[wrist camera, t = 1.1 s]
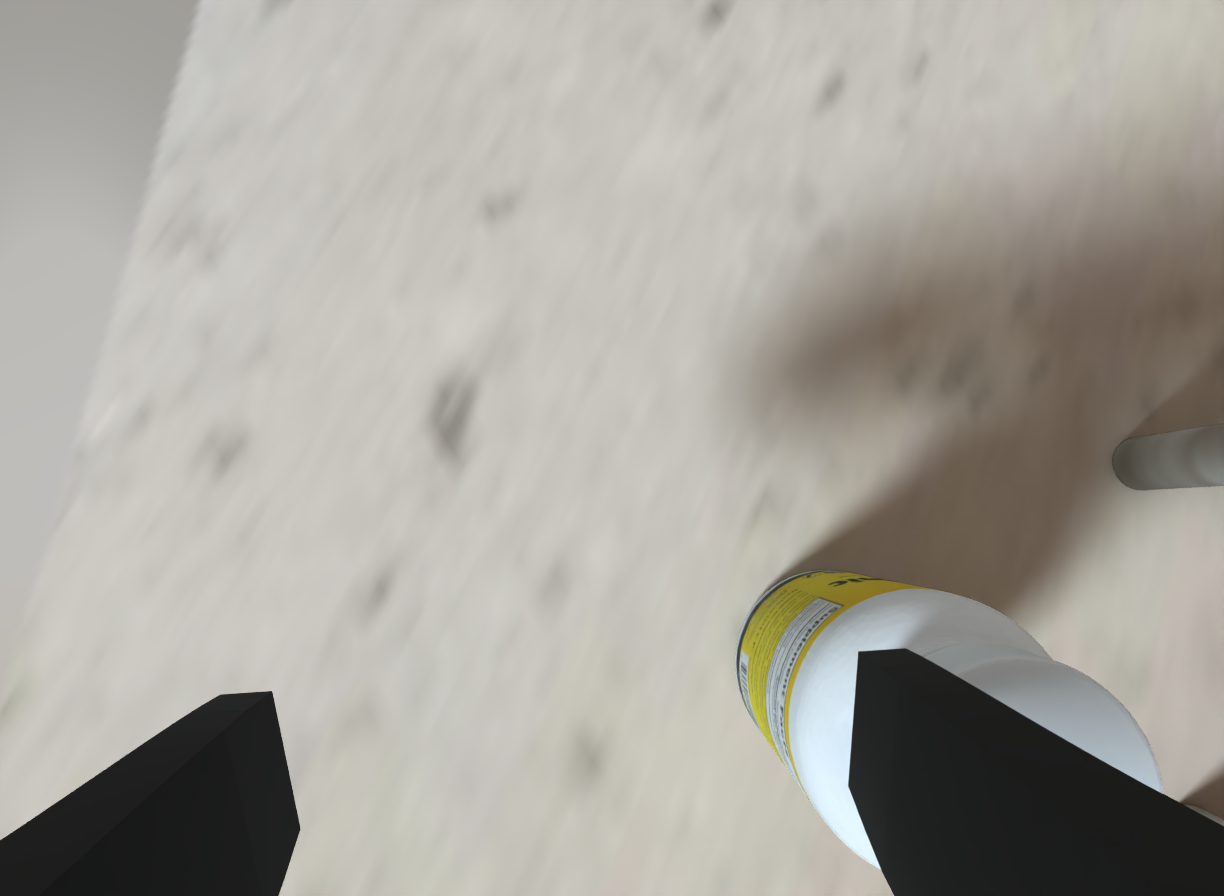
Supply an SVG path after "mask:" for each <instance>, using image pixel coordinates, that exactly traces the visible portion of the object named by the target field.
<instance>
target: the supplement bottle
mask: <svg viewBox="0 0 1224 896" xmlns="http://www.w3.org/2000/svg"><path fill="white" fill-rule="evenodd" d="M901 648H906V649H908V650H910V651H912V652H914V653H916V654H918V655H920V656H922V657H924V658H926V659H928V660H930V661H932V662H933V663H935V664H937V665H939V666H940V667H942V668H944V669H946V670H947V671H949V672H951V673H953V674H954V675H956V676H958V677H960V678H961V679H963V680H965V681H966V682H968V683H970V684H971V685H973V686H975V687H977V688H978V689H980V690H982V691H983V692H985V693H987V694H988V695H990V696H992V697H993V698H995V699H997V700H999V701H1000V702H1002V703H1004V704H1005V705H1007V706H1009V707H1010V708H1012V709H1014V710H1015V711H1017V712H1019V713H1021V714H1022V715H1024V716H1026V717H1027V718H1029V719H1031V720H1032V721H1034V722H1036V723H1038V724H1039V725H1041V726H1043V727H1044V728H1046V729H1048V730H1050V731H1051V732H1053V733H1055V734H1056V735H1058V736H1060V737H1062V738H1063V739H1065V740H1067V741H1069V742H1070V743H1072V744H1074V745H1076V746H1077V747H1079V748H1081V749H1083V750H1084V751H1086V752H1088V753H1090V754H1091V755H1093V756H1095V757H1097V758H1098V759H1100V760H1102V761H1104V762H1105V763H1107V764H1109V765H1111V766H1113V767H1115V768H1116V769H1118V770H1120V771H1122V772H1124V773H1125V774H1127V775H1129V776H1131V777H1133V778H1134V779H1136V780H1138V781H1140V782H1142V783H1143V784H1145V785H1147V786H1149V787H1151V788H1153V789H1155V790H1157V791H1158V792H1160V793H1162V794H1164V793H1163V785H1162V780H1161V776H1160V772H1159V769H1158V765H1157V762H1156V760H1155V757H1154V754H1153V751H1152V749H1151V747H1150V744H1149V742H1148V740H1147V738H1146V736H1145V735H1144V733H1143V731H1142V730H1141V728H1140V727H1139V725H1138V723H1137V722H1136V720H1135V719H1134V718H1133V716H1132V715H1131V714H1130V712H1129V711H1128V710H1127V709H1126V708H1125V707H1124V706H1123V704H1122V703H1121V702H1120V701H1119V700H1118V699H1116V698H1115V697H1114V696H1113V695H1112V694H1111V693H1110V692H1109V691H1108V690H1107V689H1105V688H1104V687H1103V686H1102V685H1100V684H1099V683H1097V682H1096V681H1095V680H1093V679H1092V678H1090V677H1089V676H1087V675H1085V674H1083V673H1082V672H1080V671H1078V670H1076V669H1074V668H1072V667H1070V666H1068V665H1065V664H1063V663H1060V662H1057V661H1054V660H1052V658H1051V657H1050V656H1049V655H1048V654H1047V652H1046V651H1045V650H1044V649H1043V647H1042V646H1041V645H1040V644H1039V643H1038V642H1037V641H1036V640H1035V639H1034V638H1033V637H1032V636H1031V635H1030V634H1029V633H1028V632H1027V631H1025V630H1024V629H1023V628H1022V627H1021V626H1019V625H1018V624H1017V623H1015V622H1014V621H1013V620H1011V619H1010V618H1008V617H1007V616H1005V615H1004V614H1002V613H1000V612H999V611H997V610H995V609H993V608H991V607H989V606H987V605H985V604H983V603H980V602H978V601H975V600H972V599H969V598H967V597H963V596H960V595H956V594H953V593H949V592H945V591H941V590H936V589H931V588H925V587H920V586H914V585H909V584H903V583H898V582H894V581H889V580H883V579H878V578H873V577H868V576H863V575H858V574H854V573H849V572H842V571H832V570H819V571H809V572H805V573H800V574H797V575H794V576H792V577H789V578H787V579H785V580H783V581H781V582H780V583H778V584H776V585H775V586H773V587H772V588H771V589H769V590H768V591H767V592H766V593H765V594H764V595H763V596H762V597H761V598H760V599H759V600H758V601H757V602H756V603H755V605H754V606H753V607H752V609H751V610H750V612H749V613H748V615H747V617H746V619H745V621H744V623H743V626H742V628H741V631H740V633H739V637H738V641H737V646H736V653H735V671H736V678H737V683H738V687H739V691H740V694H741V697H742V699H743V702H744V704H745V706H746V708H747V710H748V712H749V714H750V716H751V717H752V719H753V721H754V722H755V724H756V725H757V727H758V728H759V730H760V731H761V733H762V734H763V735H764V737H765V738H766V740H767V741H768V742H769V744H770V745H771V747H772V748H773V750H774V751H775V752H776V753H777V755H778V756H779V758H780V760H781V761H782V762H783V763H784V765H785V766H786V768H787V769H788V771H789V772H790V774H791V775H792V776H793V778H794V779H795V781H796V782H797V783H798V784H799V786H800V788H801V789H802V791H803V792H804V793H805V795H806V796H807V798H808V799H809V800H810V802H811V803H812V805H813V806H814V808H815V809H816V811H817V812H818V813H819V815H820V816H821V817H822V819H823V820H824V821H825V822H826V824H827V825H828V826H829V827H830V828H831V829H832V830H833V832H834V833H835V834H836V835H837V836H838V837H839V838H840V839H841V841H843V842H844V843H845V844H846V845H847V846H848V847H849V848H850V849H851V850H853V851H854V852H855V853H856V854H857V855H859V856H860V857H861V858H863V859H864V860H866V861H867V862H868V863H870V864H872V865H873V866H875V867H876V868H878V869H880V870H881V868H880V866H879V863H878V861H877V858H876V856H875V853H874V851H873V849H872V846H871V844H870V841H869V839H868V836H867V834H866V832H865V829H864V826H863V824H862V821H861V818H860V816H859V813H858V811H857V808H856V805H855V803H854V800H853V798H852V795H851V792H850V790H849V787H848V780H849V767H850V753H851V740H852V727H853V714H854V701H855V688H856V674H857V661H858V651H872V650H887V649H901Z"/></svg>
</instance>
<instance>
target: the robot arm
mask: <svg viewBox="0 0 1224 896" xmlns="http://www.w3.org/2000/svg"><path fill="white" fill-rule="evenodd" d="M848 787H849V790H850V792H851V795H852V798H853V800H854V803H855V805H856V808H857V811H858V813H859V816H860V818H861V821H862V824H863V826H864V829H865V832H866V834H867V836H868V839H869V841H870V844H871V846H872V849H873V851H874V853H875V856H876V858H877V861H878V863H879V866H880V868H881V870H882V872H883V874H884V876H885V878H886V880H887V882H888V884H889V886H890V888H891V890H892V892H893V894H894V896H1224V826H1223V825H1221V824H1219V823H1217V822H1215V821H1213V820H1211V819H1209V818H1208V817H1206V816H1204V815H1202V814H1200V813H1198V812H1196V811H1194V810H1192V809H1191V808H1189V807H1187V806H1185V805H1183V804H1181V803H1179V802H1177V801H1175V800H1174V799H1172V798H1170V797H1168V796H1166V795H1164V794H1162V793H1160V792H1158V791H1157V790H1155V789H1153V788H1151V787H1149V786H1147V785H1145V784H1143V783H1142V782H1140V781H1138V780H1136V779H1134V778H1133V777H1131V776H1129V775H1127V774H1125V773H1124V772H1122V771H1120V770H1118V769H1116V768H1115V767H1113V766H1111V765H1109V764H1107V763H1105V762H1104V761H1102V760H1100V759H1098V758H1097V757H1095V756H1093V755H1091V754H1090V753H1088V752H1086V751H1084V750H1083V749H1081V748H1079V747H1077V746H1076V745H1074V744H1072V743H1070V742H1069V741H1067V740H1065V739H1063V738H1062V737H1060V736H1058V735H1056V734H1055V733H1053V732H1051V731H1050V730H1048V729H1046V728H1044V727H1043V726H1041V725H1039V724H1038V723H1036V722H1034V721H1032V720H1031V719H1029V718H1027V717H1026V716H1024V715H1022V714H1021V713H1019V712H1017V711H1015V710H1014V709H1012V708H1010V707H1009V706H1007V705H1005V704H1004V703H1002V702H1000V701H999V700H997V699H995V698H993V697H992V696H990V695H988V694H987V693H985V692H983V691H982V690H980V689H978V688H977V687H975V686H973V685H971V684H970V683H968V682H966V681H965V680H963V679H961V678H960V677H958V676H956V675H954V674H953V673H951V672H949V671H947V670H946V669H944V668H942V667H940V666H939V665H937V664H935V663H933V662H932V661H930V660H928V659H926V658H924V657H922V656H920V655H918V654H916V653H914V652H912V651H910V650H908V649H906V648H901V649H887V650H872V651H858V661H857V674H856V688H855V701H854V714H853V727H852V740H851V753H850V767H849V780H848ZM299 831H300V824H299V819H298V815H297V810H296V805H295V800H294V795H293V790H292V785H291V781H290V776H289V771H288V766H287V761H286V756H285V751H284V746H283V742H282V737H281V732H280V727H279V722H278V717H277V712H276V708H275V703H274V698H273V693H272V691H268V692H253V693H238V694H224V695H219V696H217V697H216V698H214V699H212V700H210V701H209V702H207V703H205V704H204V705H202V706H200V707H199V708H197V709H195V710H194V711H192V712H191V713H189V714H187V715H186V716H184V717H183V718H181V719H180V720H178V721H177V722H175V723H174V724H172V725H171V726H169V727H168V728H166V729H165V730H163V731H162V732H160V733H159V734H157V735H156V736H154V737H153V738H151V739H150V740H148V741H147V742H145V743H144V744H142V745H141V746H139V747H138V748H136V749H135V750H133V751H132V752H130V753H129V754H128V755H126V756H125V757H123V758H122V759H120V760H119V761H117V762H116V763H114V764H113V765H111V766H110V767H108V768H107V769H106V770H104V771H103V772H101V773H100V774H98V775H97V776H95V777H94V778H92V779H91V780H89V781H88V782H86V783H85V784H83V785H82V786H80V787H79V788H77V789H76V790H74V791H73V792H72V793H70V794H69V795H67V796H66V797H64V798H63V799H61V800H60V801H58V802H57V803H55V804H54V805H52V806H51V807H49V808H48V809H46V810H45V811H43V812H42V813H41V814H39V815H38V816H36V817H35V818H33V819H32V820H30V821H29V822H27V823H26V824H24V825H23V826H21V827H20V828H18V829H17V830H15V831H14V832H12V833H11V834H9V835H8V836H6V837H5V838H3V839H2V840H0V896H278V895H279V892H280V890H281V887H282V884H283V881H284V878H285V875H286V872H287V869H288V866H289V863H290V860H291V856H292V853H293V850H294V847H295V844H296V841H297V838H298V835H299Z"/></svg>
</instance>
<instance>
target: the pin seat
mask: <svg viewBox="0 0 1224 896" xmlns="http://www.w3.org/2000/svg"><path fill="white" fill-rule="evenodd" d="M1113 468H1114V471H1115V473H1116V475H1117V477H1118V478H1119V480H1120V481H1121V482H1122V483H1123V484H1125V485H1126V486H1128V487H1130V488H1132V489H1136V490H1156V489H1174V488H1192V487H1210V486H1224V424H1217V425H1211V426H1205V427H1198V428H1192V429H1186V430H1179V431H1173V432H1167V433H1160V434H1154V435H1148V436H1141V437H1135V438H1130V439H1127V440H1125V441H1123V442H1122V443H1121V444H1120V445H1119V446H1118V447H1117V448H1116V450H1115V452H1114V456H1113ZM1185 806H1187V807H1189V808H1191V809H1192V810H1194V811H1196V812H1198V813H1200V814H1202V815H1204V816H1206V817H1208V818H1209V819H1211V820H1213V821H1215V822H1217V823H1219V824H1221V825H1223V826H1224V819H1222V818H1220V817H1218V816H1216V815H1214V814H1212V813H1209V812H1207V811H1205V810H1203V809H1201V808H1199V807H1197V806H1194V805H1185Z"/></svg>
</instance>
